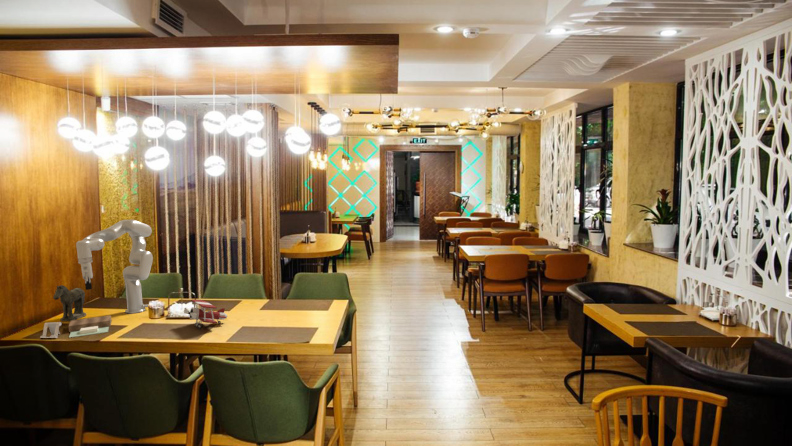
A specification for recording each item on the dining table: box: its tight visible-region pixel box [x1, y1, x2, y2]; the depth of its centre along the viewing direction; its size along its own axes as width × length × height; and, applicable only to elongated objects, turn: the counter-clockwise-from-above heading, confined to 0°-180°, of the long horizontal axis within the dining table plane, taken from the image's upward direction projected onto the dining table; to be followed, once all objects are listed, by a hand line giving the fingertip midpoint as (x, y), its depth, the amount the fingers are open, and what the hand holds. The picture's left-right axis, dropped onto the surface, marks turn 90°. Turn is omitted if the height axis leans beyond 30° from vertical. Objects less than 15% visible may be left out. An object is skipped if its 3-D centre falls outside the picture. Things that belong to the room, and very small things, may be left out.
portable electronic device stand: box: [39, 321, 62, 339], centre depth 307 cm, size 9×8×8 cm
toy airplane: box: [183, 299, 228, 329], centre depth 320 cm, size 27×23×15 cm
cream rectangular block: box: [80, 326, 98, 334], centre depth 315 cm, size 9×6×2 cm, turn 116°
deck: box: [68, 315, 112, 333], centre depth 326 cm, size 22×14×4 cm, turn 117°
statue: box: [52, 284, 87, 322], centre depth 343 cm, size 25×10×25 cm, turn 169°
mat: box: [68, 327, 110, 339], centre depth 314 cm, size 20×12×1 cm, turn 117°
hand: (88, 289), depth 327 cm, fingers closed
